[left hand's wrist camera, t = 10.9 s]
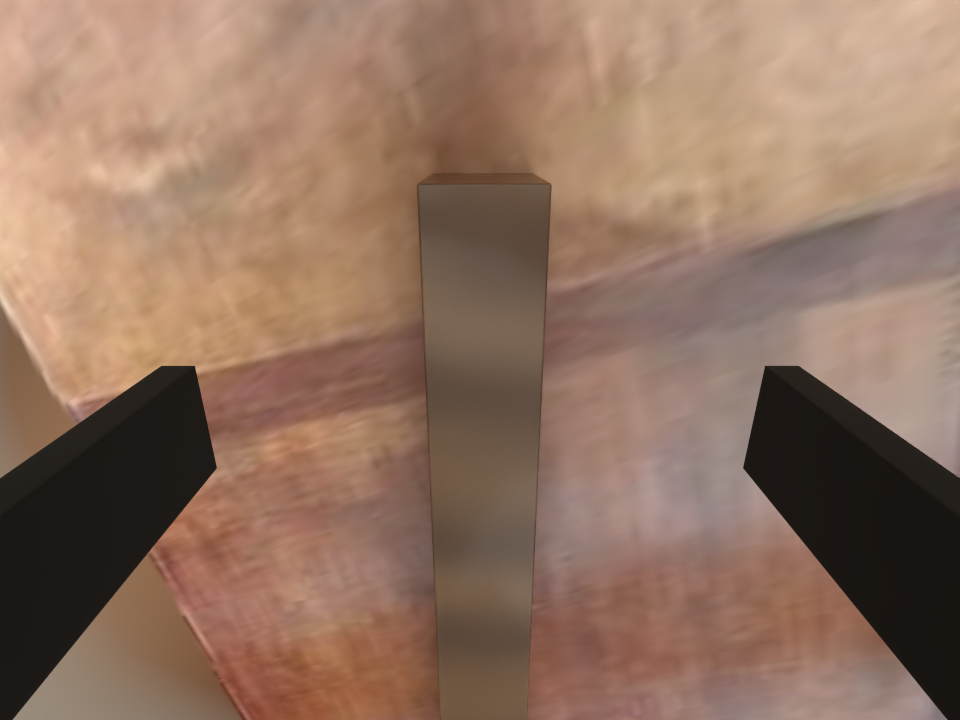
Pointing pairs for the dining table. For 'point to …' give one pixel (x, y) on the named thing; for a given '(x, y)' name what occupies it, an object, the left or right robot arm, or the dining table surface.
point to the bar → (483, 427)
